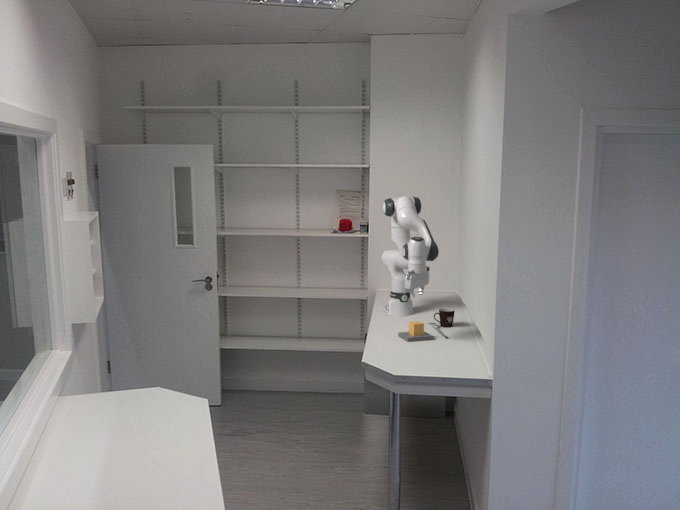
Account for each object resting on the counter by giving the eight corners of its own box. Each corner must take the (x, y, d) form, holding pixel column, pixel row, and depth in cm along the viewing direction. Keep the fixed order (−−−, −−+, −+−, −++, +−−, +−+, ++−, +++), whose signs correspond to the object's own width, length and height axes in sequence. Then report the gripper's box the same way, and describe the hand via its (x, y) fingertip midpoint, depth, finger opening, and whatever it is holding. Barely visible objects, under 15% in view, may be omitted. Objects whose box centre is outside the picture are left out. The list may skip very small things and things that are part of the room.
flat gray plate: (398, 336, 305) (398, 323, 305) (422, 334, 310) (422, 322, 309) (407, 341, 294) (408, 329, 293) (433, 339, 298) (433, 327, 298)
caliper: (436, 327, 330) (427, 324, 329) (437, 323, 330) (429, 320, 329) (453, 341, 301) (444, 339, 300) (454, 337, 301) (445, 334, 300)
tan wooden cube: (408, 333, 303) (409, 322, 302) (418, 332, 305) (418, 321, 304) (413, 335, 298) (414, 324, 297) (423, 335, 300) (423, 323, 299)
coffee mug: (453, 326, 329) (453, 308, 328) (455, 329, 321) (455, 311, 320) (432, 325, 330) (432, 308, 329) (433, 329, 322) (433, 311, 321)
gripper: (413, 272, 288) (412, 299, 289) (431, 267, 304) (431, 293, 306) (401, 271, 291) (401, 298, 293) (420, 266, 308) (420, 292, 310)
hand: (416, 296), depth 300 cm, fingers open, 8 cm apart
